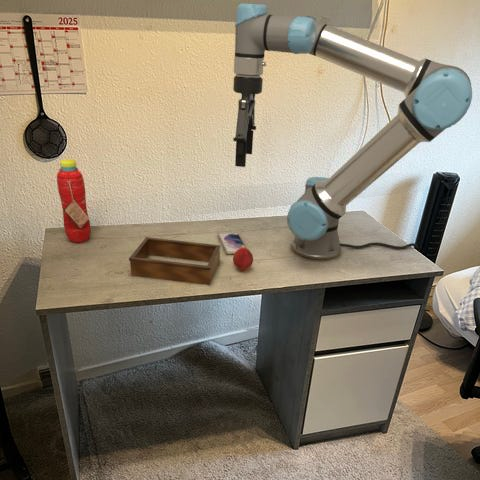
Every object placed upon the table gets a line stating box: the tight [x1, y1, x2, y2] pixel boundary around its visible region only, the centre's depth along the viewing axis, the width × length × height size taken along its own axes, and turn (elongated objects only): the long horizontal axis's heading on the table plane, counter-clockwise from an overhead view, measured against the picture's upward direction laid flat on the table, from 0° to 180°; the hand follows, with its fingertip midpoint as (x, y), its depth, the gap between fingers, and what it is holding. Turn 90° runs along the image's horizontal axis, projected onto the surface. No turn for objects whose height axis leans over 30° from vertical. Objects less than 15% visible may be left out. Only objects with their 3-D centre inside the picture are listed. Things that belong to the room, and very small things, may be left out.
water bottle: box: [56, 158, 92, 244], centre depth 143 cm, size 12×8×25 cm, turn 14°
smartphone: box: [217, 232, 248, 255], centre depth 153 cm, size 7×1×15 cm
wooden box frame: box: [128, 236, 222, 286], centre depth 136 cm, size 23×15×6 cm, turn 81°
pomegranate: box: [232, 244, 254, 272], centre depth 137 cm, size 6×6×8 cm
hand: (243, 159), depth 133 cm, fingers open, 13 cm apart
